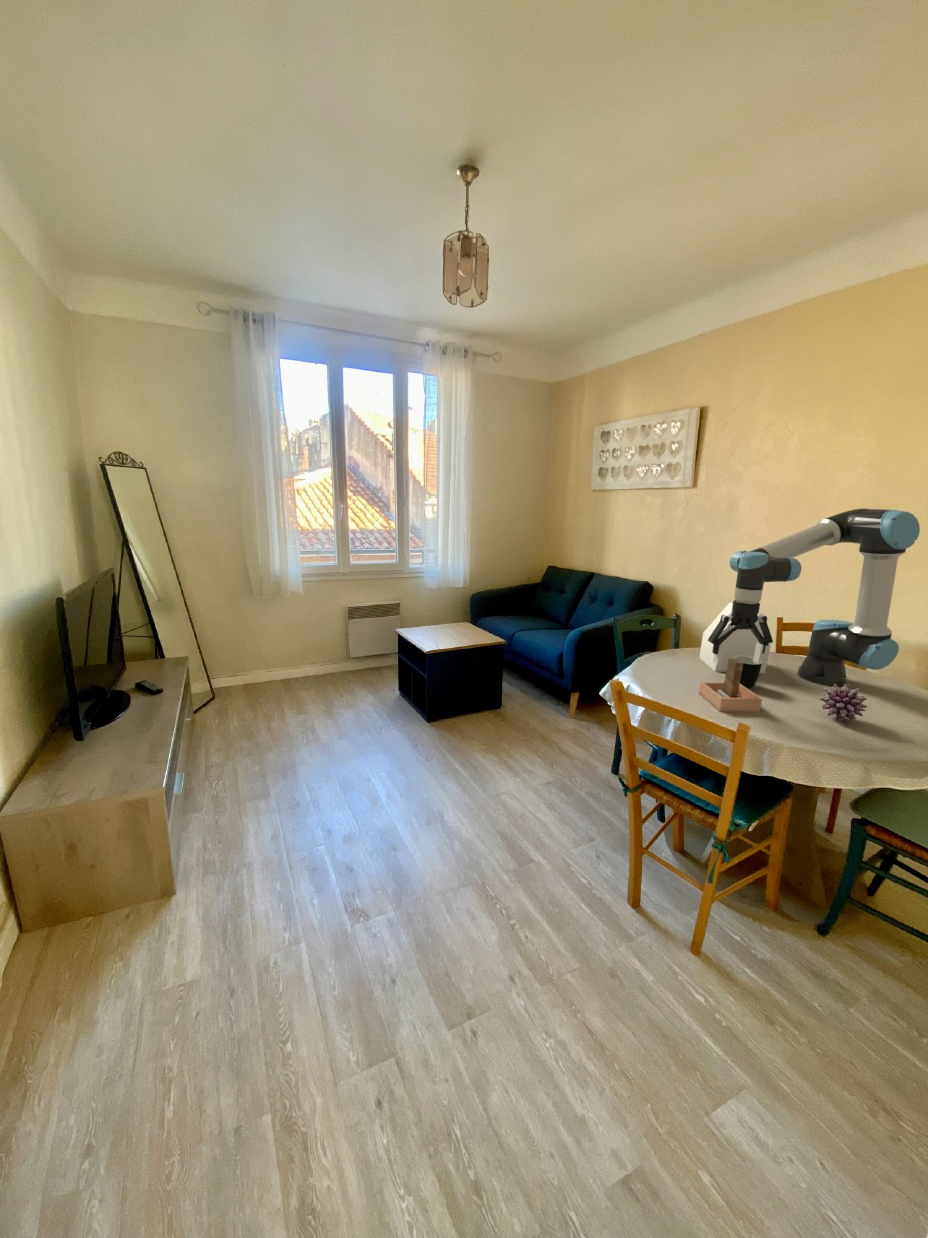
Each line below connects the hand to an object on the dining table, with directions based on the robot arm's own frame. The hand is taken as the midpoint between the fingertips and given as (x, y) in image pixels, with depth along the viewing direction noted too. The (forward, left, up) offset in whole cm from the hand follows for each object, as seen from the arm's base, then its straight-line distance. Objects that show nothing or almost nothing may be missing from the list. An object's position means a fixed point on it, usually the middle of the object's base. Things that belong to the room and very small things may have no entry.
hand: (736, 663), depth 158 cm
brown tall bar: (0, 0, -13) cm, 13 cm away
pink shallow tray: (0, 0, -14) cm, 14 cm away
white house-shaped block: (-21, -35, -15) cm, 43 cm away
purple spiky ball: (-29, +12, -15) cm, 34 cm away
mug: (-14, -16, -15) cm, 26 cm away
